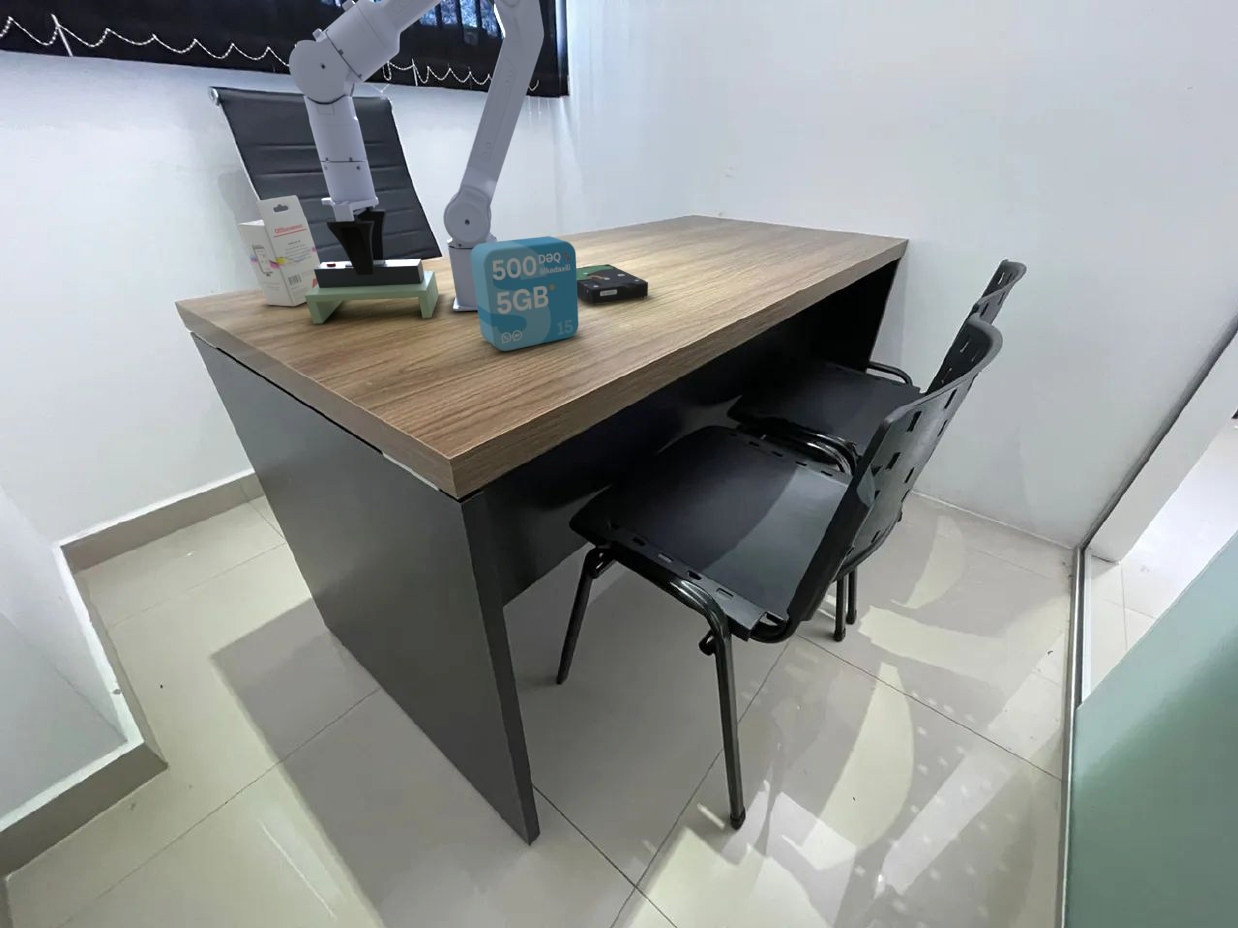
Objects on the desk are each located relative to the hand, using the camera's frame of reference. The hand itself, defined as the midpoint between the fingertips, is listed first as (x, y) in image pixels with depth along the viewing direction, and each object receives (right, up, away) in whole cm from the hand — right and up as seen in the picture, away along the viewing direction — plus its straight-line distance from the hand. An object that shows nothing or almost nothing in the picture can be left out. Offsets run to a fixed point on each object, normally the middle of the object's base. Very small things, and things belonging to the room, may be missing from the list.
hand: (371, 268), depth 75 cm
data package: (+25, -13, -8) cm, 29 cm away
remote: (0, -2, +1) cm, 2 cm away
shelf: (0, -5, +3) cm, 6 cm away
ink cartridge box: (-15, -2, +8) cm, 17 cm away
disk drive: (+34, +1, +12) cm, 36 cm away
